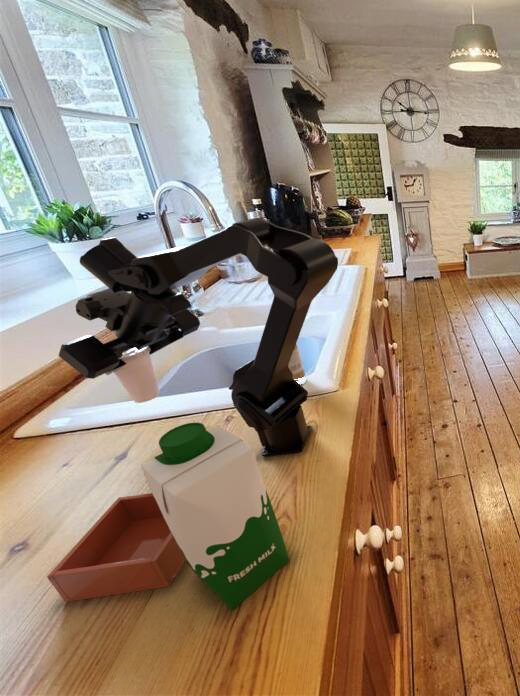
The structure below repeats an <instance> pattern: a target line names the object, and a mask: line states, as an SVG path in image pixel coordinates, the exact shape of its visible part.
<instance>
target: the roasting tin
mask: <svg viewBox="0 0 520 696" xmlns="http://www.w3.org/2000/svg"><path fill="white" fill-rule="evenodd" d="M185 562H187V561H186V560H185V558H184V556H183V554H182V552H181V550H180V548H179V546H178V544H177V542H176V540H175V538H174V536H173V535H172V533H171V531H170V529H169V527H168V525H167V523H166V521H165V519H164V517H163V515H162V512H161V510H160V508H159V506H158V503H157V501H156V499H155V498H154V496H153V494H152V492H151V493H150V492H149V493H142V494H133V495H126V496H125V495H124V496H119V497H118V498H116V500H115V501H114V502H113V503H112V504H111V505H109V507H108V508H107V510H106V511H105V512H104V513H103V514H102V515H101V516H100V517H99V519H98V520H96V522H95V523H94V524H93V525H92V526H91V527H90V528H89V529H88V530H87V532H86V533H85V534H84V535H83V536H82V537H81V538H80V540H79V541H78V542H77V543H76V544H75V545H74V546H72V548H71V550H70V551H69V552H67V554H66V555H65V556H64V557H63V558H62V559H61V560H60V561H59V563H57V564H56V566H54V568H53V569H52V570H51V571H50V572H49V573H48V574H47V576H46V578H47V580H48V581H49V582H50V584H51V585H52V586H53V587H54V589H55V590H56V592H57V593H58V595H59V596H60V597H61V598H62V600H63V602H64V603H70V602H76V601H83V600H91V599H95V598H96V599H97V598H103V597H109V596H115V595H121V594H129V593H135V592H141V591H142V592H143V591H148V590H155V589H160V588H161V589H163V588H168V587H171V585H172V584H173V581H174V580H175V579H176V577H177V575H178V574H179V572H180V570H181V569H182V568H183V566H184V564H185Z"/></svg>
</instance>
